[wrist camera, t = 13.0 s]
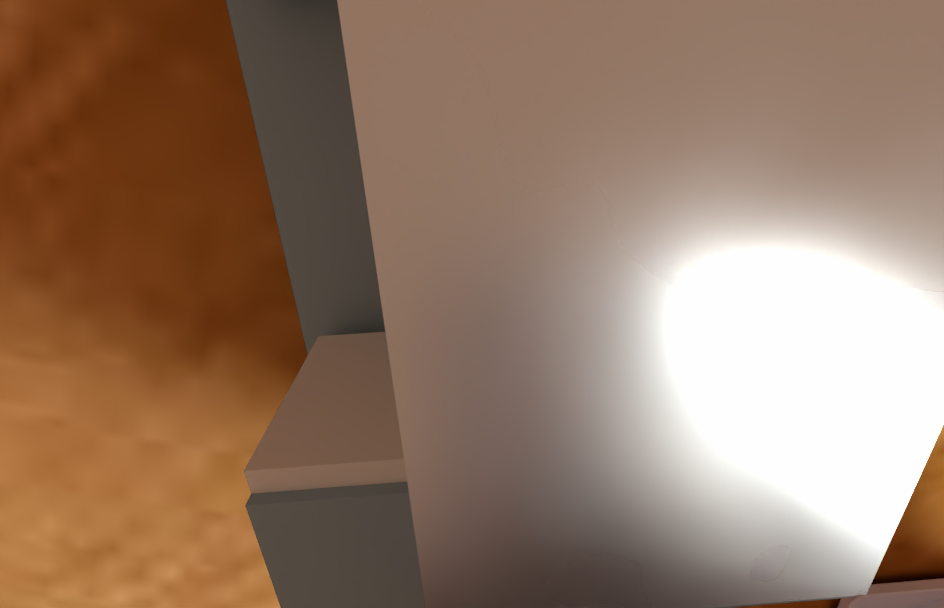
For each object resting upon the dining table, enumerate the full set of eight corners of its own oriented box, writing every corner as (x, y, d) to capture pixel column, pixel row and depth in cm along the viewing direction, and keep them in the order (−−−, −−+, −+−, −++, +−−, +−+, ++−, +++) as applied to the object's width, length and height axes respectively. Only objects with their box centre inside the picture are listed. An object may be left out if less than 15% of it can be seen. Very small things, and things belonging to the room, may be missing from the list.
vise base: (677, 554, 15) (793, 782, 10) (371, 579, 15) (332, 825, 10) (847, -365, 7) (1920, -1618, 2) (175, -339, 7) (-656, -1679, 2)
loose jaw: (709, 423, 11) (851, 597, 7) (348, 451, 11) (293, 644, 7) (733, 298, 10) (924, 429, 6) (323, 327, 10) (237, 482, 6)
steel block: (620, 305, 10) (866, 594, 4) (439, 318, 10) (428, 631, 4) (648, -20, 8) (1328, -431, 2) (410, -8, 8) (278, -400, 2)
